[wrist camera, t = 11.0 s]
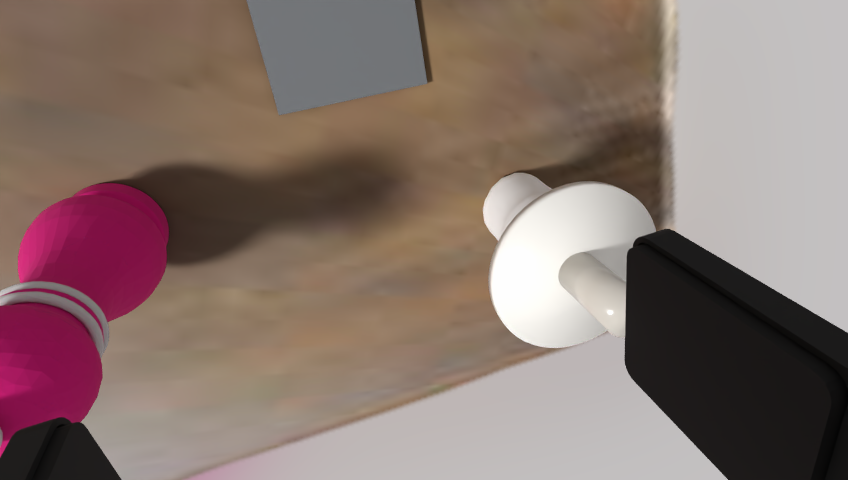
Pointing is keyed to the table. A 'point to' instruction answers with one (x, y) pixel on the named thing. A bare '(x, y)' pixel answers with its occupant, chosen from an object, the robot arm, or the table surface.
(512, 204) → the cup
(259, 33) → the mat
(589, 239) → the lid
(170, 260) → the table surface
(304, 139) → the table surface
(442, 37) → the table surface
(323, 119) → the table surface
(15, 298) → the pepper mill
